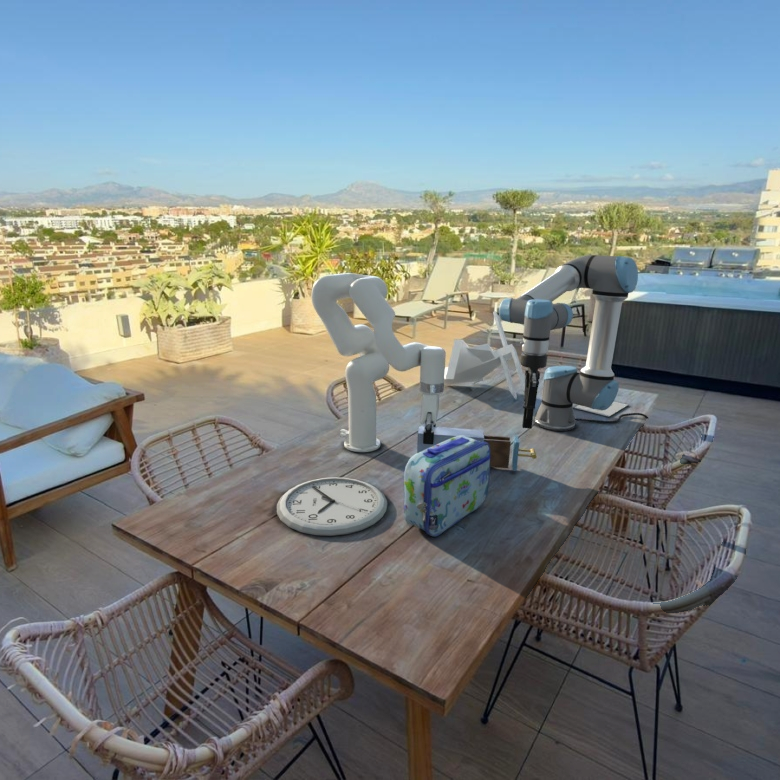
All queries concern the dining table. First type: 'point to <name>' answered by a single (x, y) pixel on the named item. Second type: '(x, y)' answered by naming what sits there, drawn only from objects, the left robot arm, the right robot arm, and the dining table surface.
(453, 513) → the lunch box
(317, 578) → the dining table surface
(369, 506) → the wall clock
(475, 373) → the white plastic object
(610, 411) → the invitation card
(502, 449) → the drawer
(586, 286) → the right robot arm
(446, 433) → the cabinet
